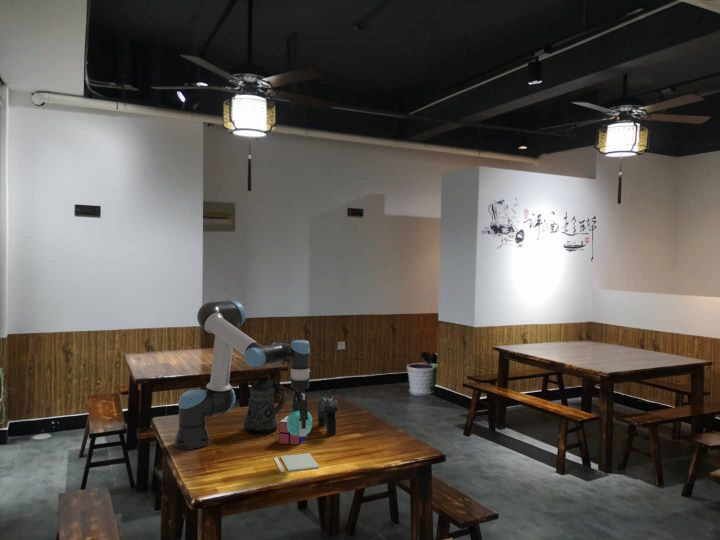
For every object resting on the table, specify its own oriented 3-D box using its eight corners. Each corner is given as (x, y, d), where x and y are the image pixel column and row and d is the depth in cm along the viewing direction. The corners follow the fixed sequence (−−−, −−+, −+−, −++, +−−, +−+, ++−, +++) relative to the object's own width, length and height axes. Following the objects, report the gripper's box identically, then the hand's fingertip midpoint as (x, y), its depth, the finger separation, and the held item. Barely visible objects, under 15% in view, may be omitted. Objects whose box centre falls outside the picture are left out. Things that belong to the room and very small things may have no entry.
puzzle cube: (299, 445, 245) (300, 423, 245) (278, 443, 247) (278, 421, 247) (306, 438, 255) (306, 417, 255) (286, 436, 257) (286, 415, 257)
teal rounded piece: (312, 430, 226) (312, 411, 226) (304, 436, 219) (305, 416, 218) (294, 428, 228) (294, 409, 228) (286, 434, 221) (286, 414, 221)
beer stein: (237, 429, 267) (237, 378, 267) (271, 422, 280) (271, 373, 280) (255, 437, 255) (255, 384, 255) (289, 429, 268) (290, 379, 268)
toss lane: (280, 472, 213) (280, 470, 213) (273, 458, 228) (273, 457, 228) (319, 467, 218) (319, 466, 218) (309, 454, 233) (309, 453, 233)
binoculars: (338, 435, 260) (339, 393, 260) (326, 436, 257) (326, 394, 257) (326, 423, 278) (326, 384, 278) (313, 425, 276) (314, 385, 276)
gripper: (316, 383, 214) (315, 439, 214) (302, 372, 235) (302, 423, 236) (297, 384, 211) (297, 441, 211) (285, 373, 233) (285, 424, 233)
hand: (299, 432), depth 223 cm, fingers closed on teal rounded piece, 11 cm apart
